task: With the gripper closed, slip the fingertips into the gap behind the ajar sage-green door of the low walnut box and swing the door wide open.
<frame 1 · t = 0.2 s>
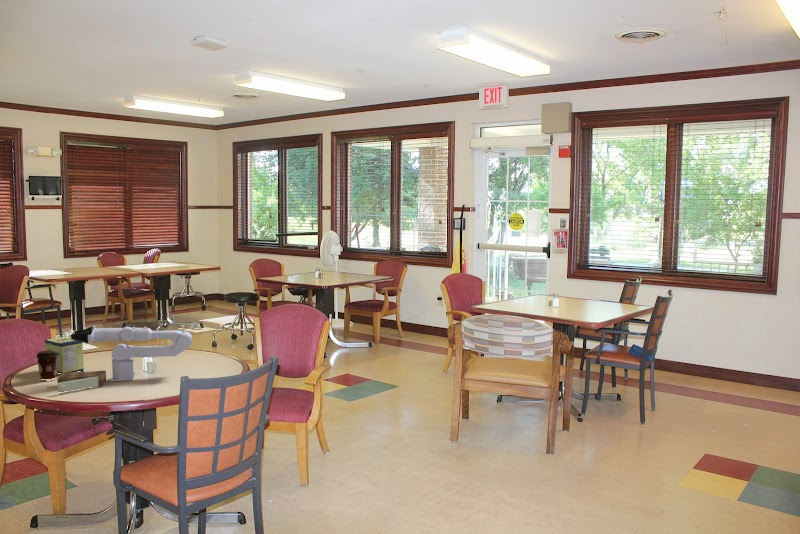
hand: (72, 335, 300), 21 cm above the table, tool horizontal, fingers open, 7 cm apart
protein box: (65, 371, 322), on the table
coffee cup: (48, 380, 306), on the table
door: (79, 385, 288), point 3 cm above the table, hinge at 30.0°
walnut box: (82, 385, 297), on the table
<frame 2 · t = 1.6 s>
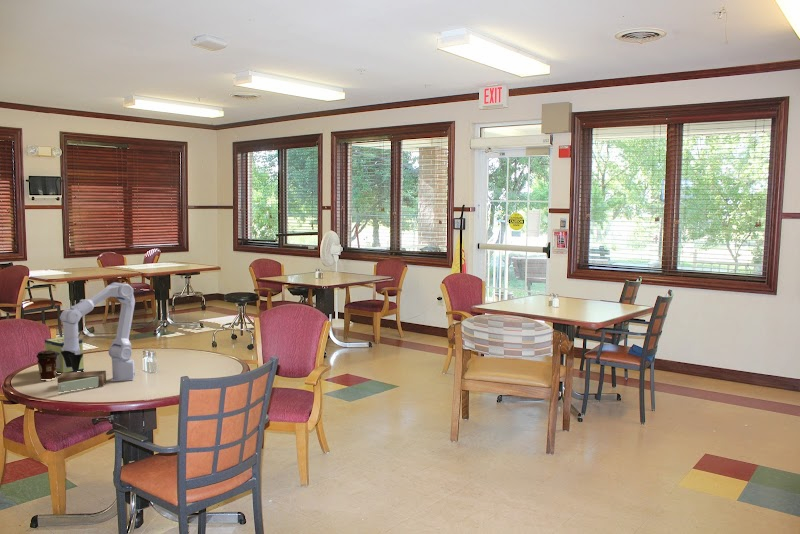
hand: (72, 368, 289), 9 cm above the table, tool pointing down, fingers open, 7 cm apart
nothing on the table moved.
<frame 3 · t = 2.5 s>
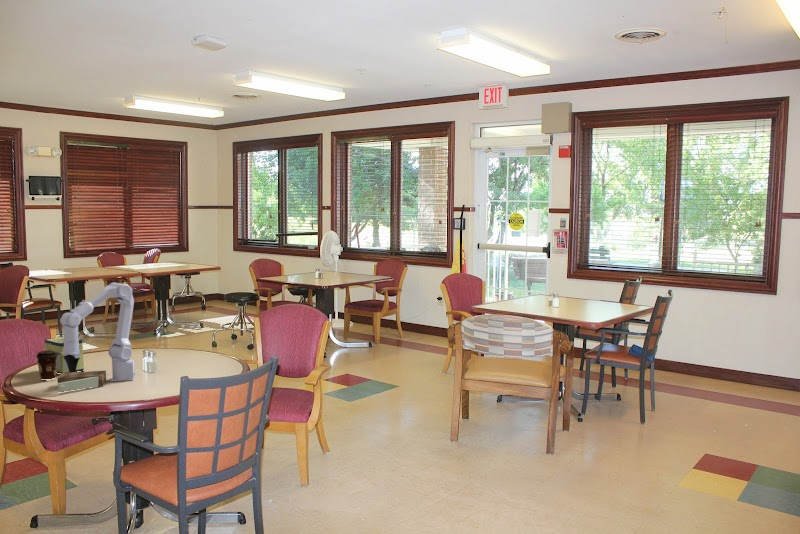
hand: (72, 372, 289), 8 cm above the table, tool pointing down, fingers closed
nothing on the table moved.
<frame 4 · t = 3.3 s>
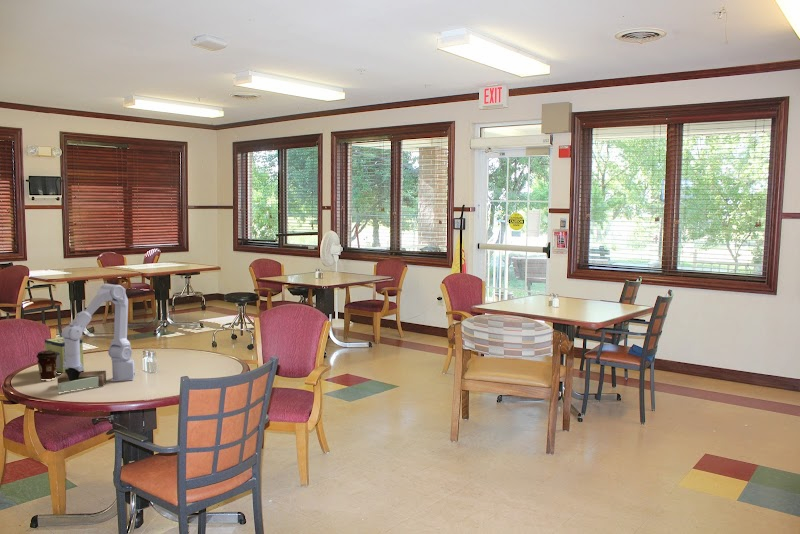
hand: (74, 385, 289), 2 cm above the table, tool pointing down, fingers closed
door: (79, 385, 288), point 3 cm above the table, hinge at 30.0°, touching gripper
everything else where it was.
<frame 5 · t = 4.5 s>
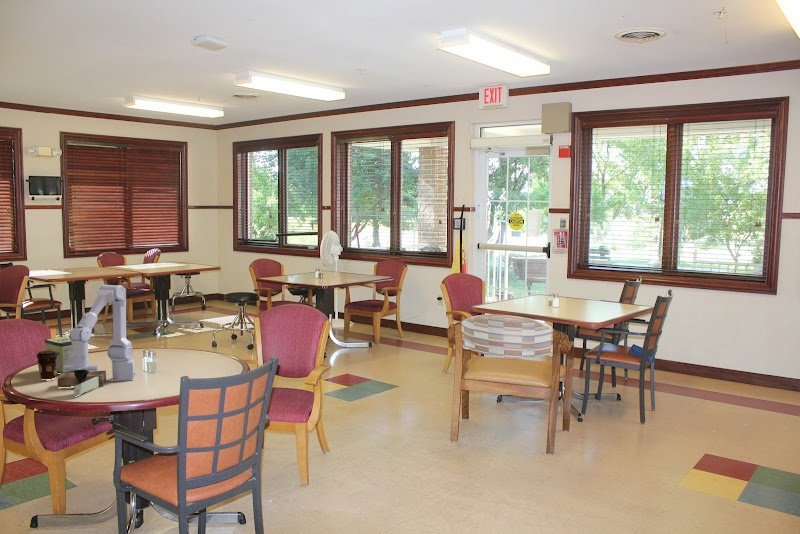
hand: (82, 387, 285), 2 cm above the table, tool pointing down, fingers closed
door: (88, 386, 286), point 3 cm above the table, hinge at 68.4°, touching gripper
everything else where it was.
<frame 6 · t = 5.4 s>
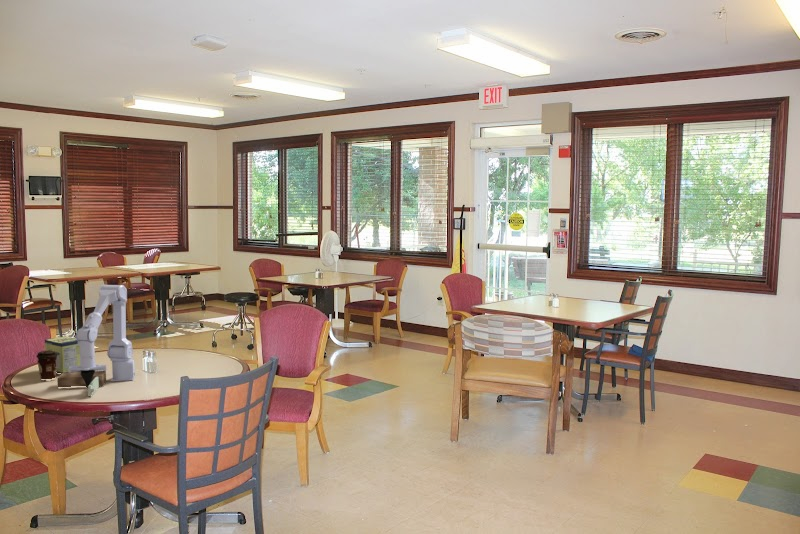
hand: (88, 387, 284), 2 cm above the table, tool pointing down, fingers closed
door: (94, 386, 286), point 3 cm above the table, hinge at 88.7°, touching gripper
everything else where it was.
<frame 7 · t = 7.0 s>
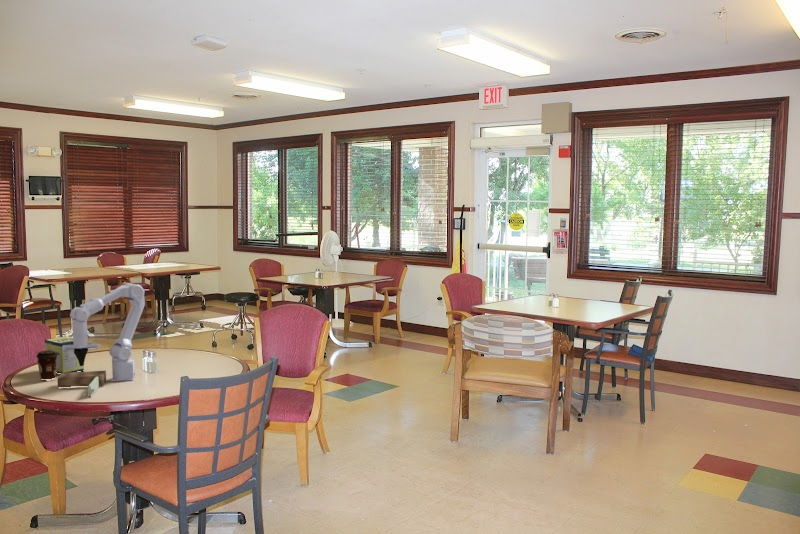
hand: (81, 365, 295), 9 cm above the table, tool pointing down, fingers closed
door: (94, 386, 286), point 3 cm above the table, hinge at 88.8°
everything else where it was.
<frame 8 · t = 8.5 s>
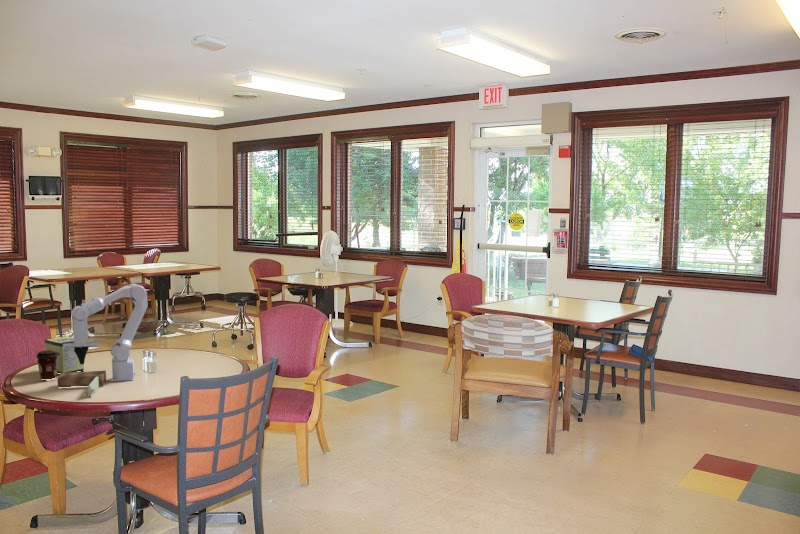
hand: (82, 363, 297), 9 cm above the table, tool pointing down, fingers closed
nothing on the table moved.
at the end: door at +89° (first picture: +30°) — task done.
